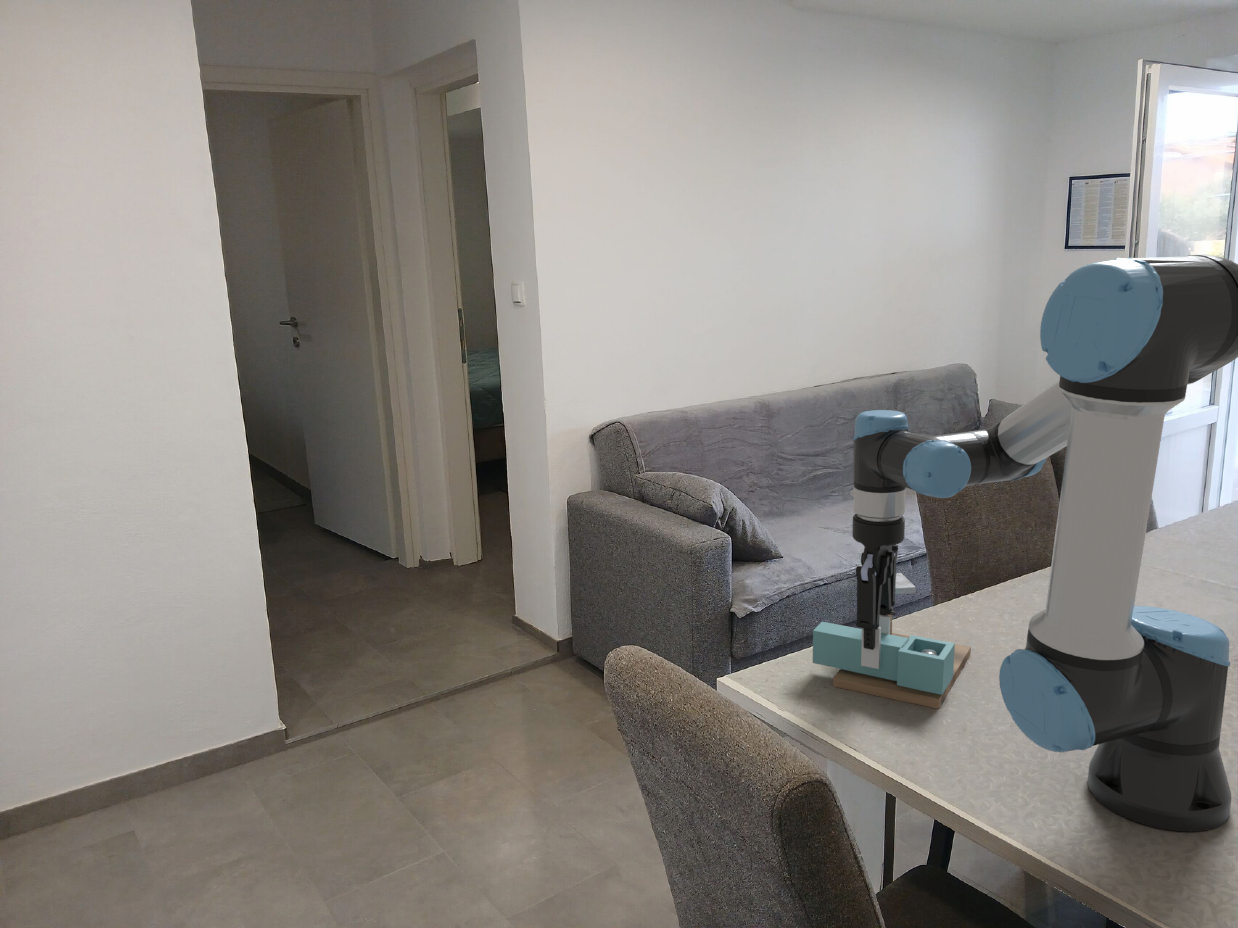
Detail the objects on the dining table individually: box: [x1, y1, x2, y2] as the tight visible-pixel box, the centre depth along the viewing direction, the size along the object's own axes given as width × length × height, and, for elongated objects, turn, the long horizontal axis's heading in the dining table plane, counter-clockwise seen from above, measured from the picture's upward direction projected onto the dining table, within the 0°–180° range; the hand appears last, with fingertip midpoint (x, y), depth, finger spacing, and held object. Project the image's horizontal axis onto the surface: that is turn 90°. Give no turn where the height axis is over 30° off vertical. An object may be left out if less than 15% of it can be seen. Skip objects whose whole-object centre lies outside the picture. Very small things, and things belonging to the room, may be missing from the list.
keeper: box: [888, 572, 917, 635], centre depth 160 cm, size 7×6×12 cm
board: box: [832, 632, 972, 710], centre depth 153 cm, size 21×16×2 cm
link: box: [812, 621, 956, 695], centre depth 147 cm, size 20×7×6 cm, turn 58°
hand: (875, 660), depth 147 cm, fingers closed on link, 4 cm apart
